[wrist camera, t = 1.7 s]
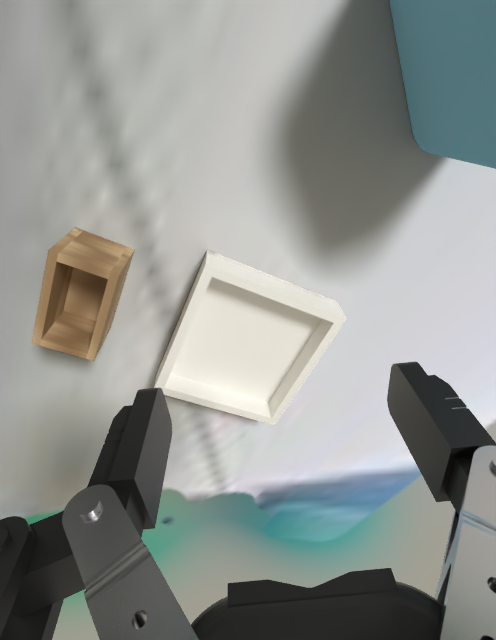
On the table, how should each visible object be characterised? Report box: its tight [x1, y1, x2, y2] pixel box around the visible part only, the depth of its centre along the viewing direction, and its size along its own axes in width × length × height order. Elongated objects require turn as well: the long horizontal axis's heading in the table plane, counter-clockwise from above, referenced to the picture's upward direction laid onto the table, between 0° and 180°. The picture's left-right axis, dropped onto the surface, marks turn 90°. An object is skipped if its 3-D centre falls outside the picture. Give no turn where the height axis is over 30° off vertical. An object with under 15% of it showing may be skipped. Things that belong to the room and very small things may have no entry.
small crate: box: [32, 228, 134, 361], centre depth 28 cm, size 5×8×5 cm, turn 156°
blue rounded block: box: [389, 0, 496, 169], centre depth 18 cm, size 12×4×12 cm, turn 24°
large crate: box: [154, 250, 347, 425], centre depth 33 cm, size 13×14×3 cm
